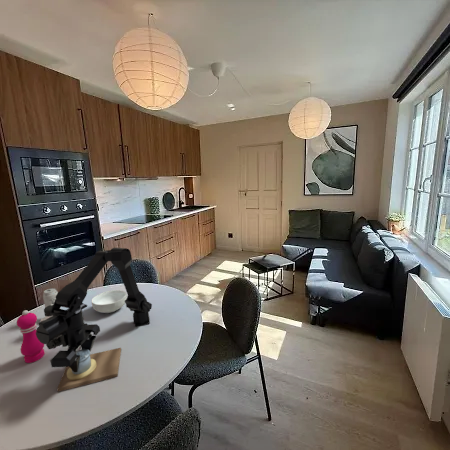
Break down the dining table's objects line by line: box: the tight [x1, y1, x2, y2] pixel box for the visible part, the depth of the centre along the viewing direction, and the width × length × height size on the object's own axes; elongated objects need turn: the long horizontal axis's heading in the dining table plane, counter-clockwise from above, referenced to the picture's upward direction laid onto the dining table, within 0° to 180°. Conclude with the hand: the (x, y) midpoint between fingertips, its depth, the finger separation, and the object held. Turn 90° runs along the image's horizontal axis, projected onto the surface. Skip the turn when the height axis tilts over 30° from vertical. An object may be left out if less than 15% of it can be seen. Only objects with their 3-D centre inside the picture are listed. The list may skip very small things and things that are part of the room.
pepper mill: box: [16, 310, 46, 364], centre depth 94 cm, size 7×7×20 cm
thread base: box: [56, 347, 122, 392], centre depth 89 cm, size 18×14×2 cm
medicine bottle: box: [39, 304, 53, 322], centre depth 113 cm, size 7×7×12 cm
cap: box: [71, 348, 91, 374], centre depth 86 cm, size 6×6×5 cm
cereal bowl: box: [91, 289, 128, 314], centre depth 130 cm, size 17×17×7 cm
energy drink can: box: [42, 288, 62, 309], centre depth 122 cm, size 6×6×15 cm
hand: (81, 365), depth 87 cm, fingers closed on cap, 6 cm apart
